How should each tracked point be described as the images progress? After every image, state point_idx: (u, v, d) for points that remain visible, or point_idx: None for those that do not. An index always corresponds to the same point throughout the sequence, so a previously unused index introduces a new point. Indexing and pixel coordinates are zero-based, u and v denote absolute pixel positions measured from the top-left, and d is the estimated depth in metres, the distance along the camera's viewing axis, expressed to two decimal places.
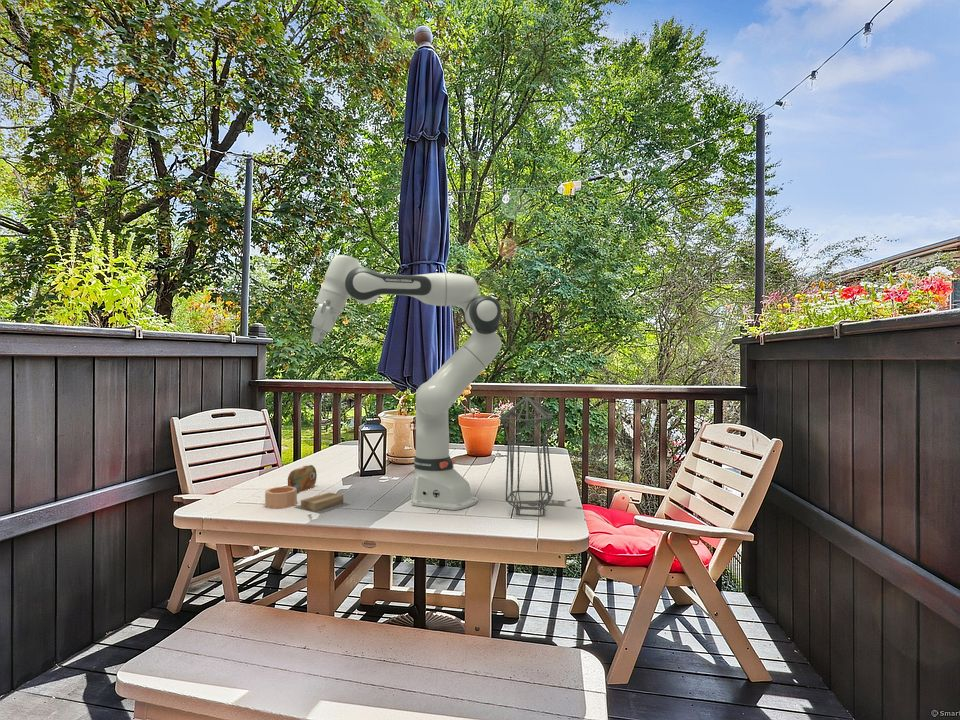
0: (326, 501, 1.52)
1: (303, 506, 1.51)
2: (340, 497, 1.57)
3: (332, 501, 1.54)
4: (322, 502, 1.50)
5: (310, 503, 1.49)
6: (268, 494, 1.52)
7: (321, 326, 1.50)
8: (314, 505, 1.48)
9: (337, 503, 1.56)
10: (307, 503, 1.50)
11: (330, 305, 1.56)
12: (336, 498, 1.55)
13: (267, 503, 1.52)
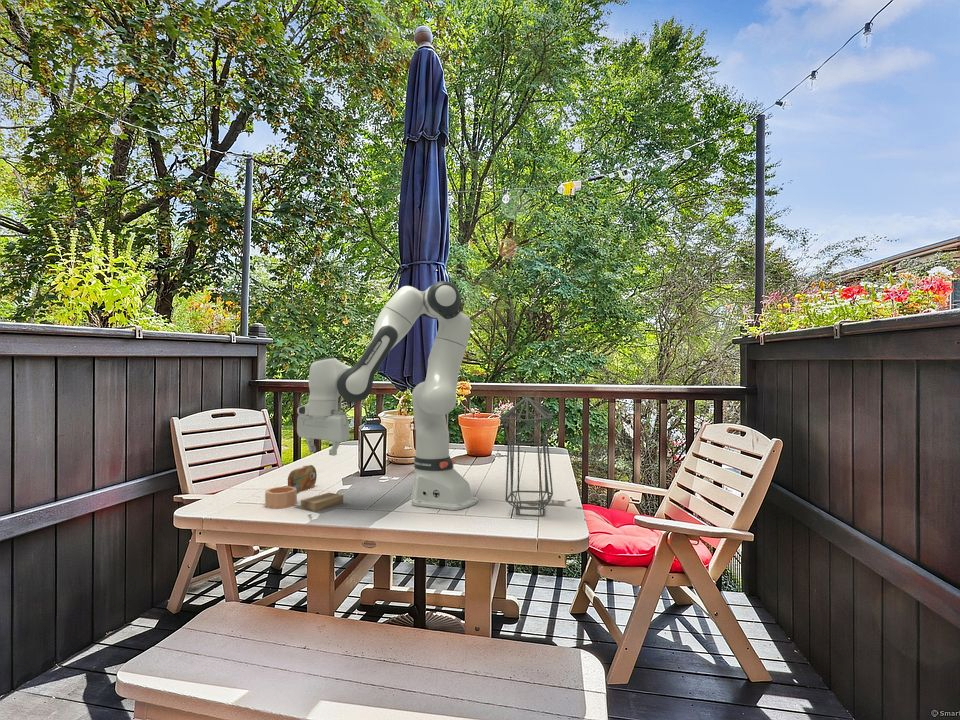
0: (326, 501, 1.52)
1: (303, 506, 1.51)
2: (340, 497, 1.57)
3: (332, 501, 1.54)
4: (322, 502, 1.50)
5: (310, 503, 1.49)
6: (268, 494, 1.52)
7: (348, 438, 1.51)
8: (314, 505, 1.48)
9: (337, 503, 1.56)
10: (307, 503, 1.50)
11: None
12: (336, 498, 1.55)
13: (267, 503, 1.52)
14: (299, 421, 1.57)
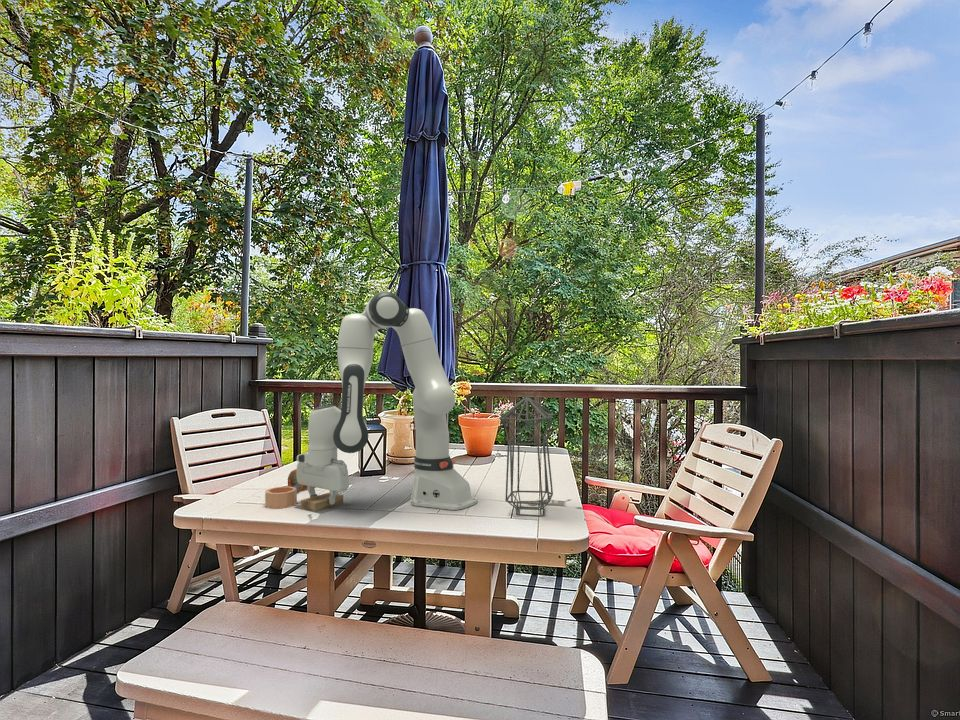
0: (326, 501, 1.52)
1: (303, 506, 1.51)
2: (340, 497, 1.57)
3: None
4: (322, 502, 1.50)
5: (310, 503, 1.49)
6: (268, 494, 1.52)
7: (348, 487, 1.51)
8: (314, 505, 1.48)
9: (337, 503, 1.56)
10: (307, 503, 1.50)
11: None
12: (336, 498, 1.55)
13: (267, 503, 1.52)
14: (299, 469, 1.57)
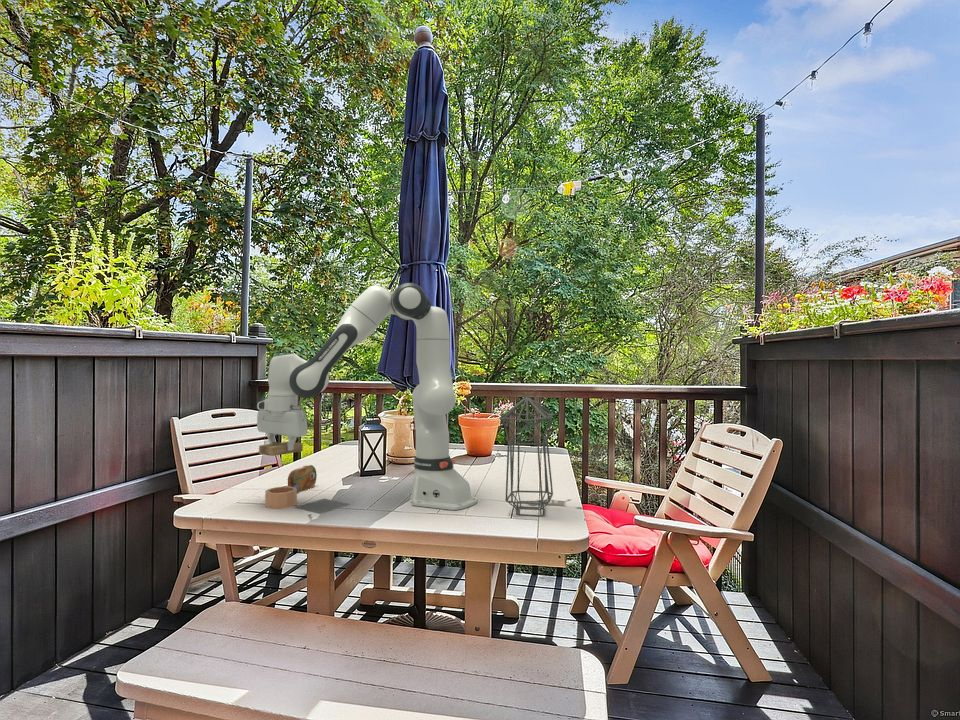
0: (284, 447, 1.53)
1: (261, 451, 1.52)
2: (299, 445, 1.58)
3: None
4: (280, 447, 1.52)
5: (268, 448, 1.50)
6: (268, 494, 1.52)
7: (306, 433, 1.52)
8: (271, 449, 1.50)
9: (296, 450, 1.57)
10: (265, 448, 1.51)
11: None
12: (295, 445, 1.56)
13: (267, 503, 1.52)
14: (259, 416, 1.58)
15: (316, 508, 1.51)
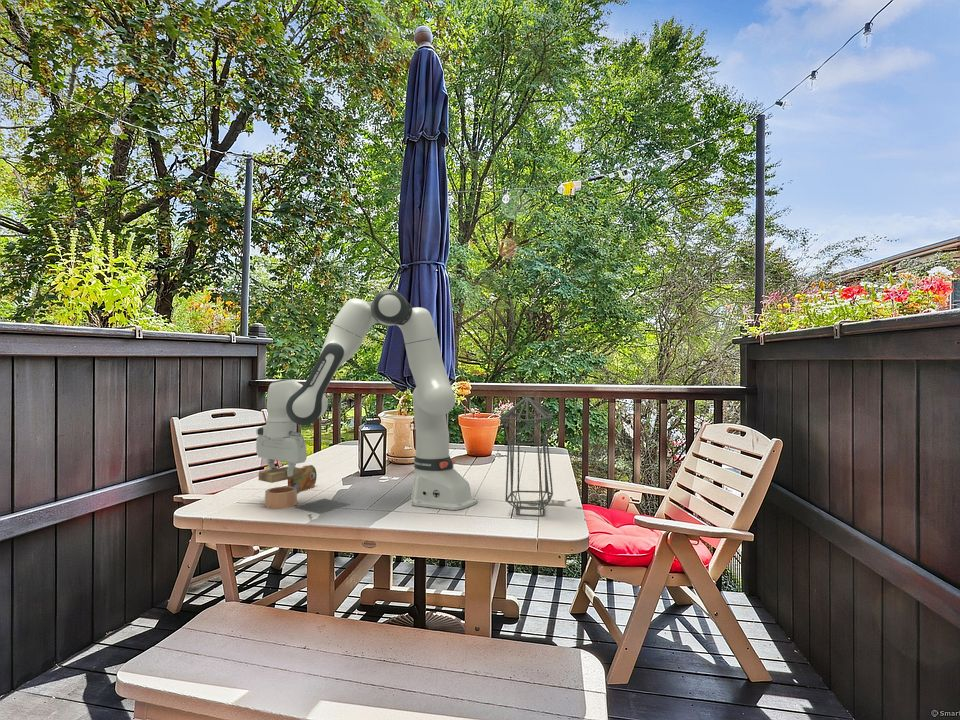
0: (284, 473, 1.53)
1: (261, 478, 1.52)
2: (299, 470, 1.58)
3: None
4: (279, 474, 1.52)
5: (267, 474, 1.50)
6: (268, 494, 1.52)
7: (305, 460, 1.52)
8: (271, 476, 1.50)
9: (296, 476, 1.57)
10: (264, 475, 1.51)
11: None
12: (294, 471, 1.56)
13: (267, 503, 1.52)
14: (258, 442, 1.58)
15: (316, 508, 1.51)
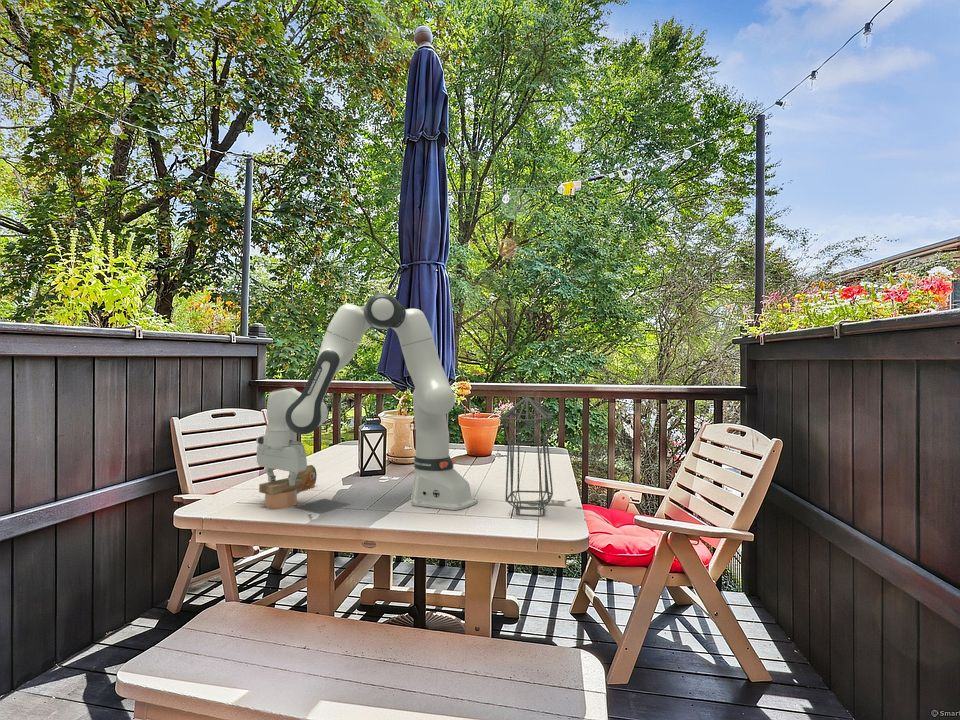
0: (284, 485, 1.53)
1: (261, 490, 1.52)
2: (299, 482, 1.58)
3: None
4: (280, 486, 1.52)
5: (268, 487, 1.51)
6: (268, 494, 1.52)
7: (305, 468, 1.52)
8: (271, 489, 1.50)
9: (296, 487, 1.57)
10: (265, 487, 1.51)
11: None
12: (295, 482, 1.56)
13: (267, 503, 1.52)
14: (258, 451, 1.58)
15: (316, 508, 1.51)
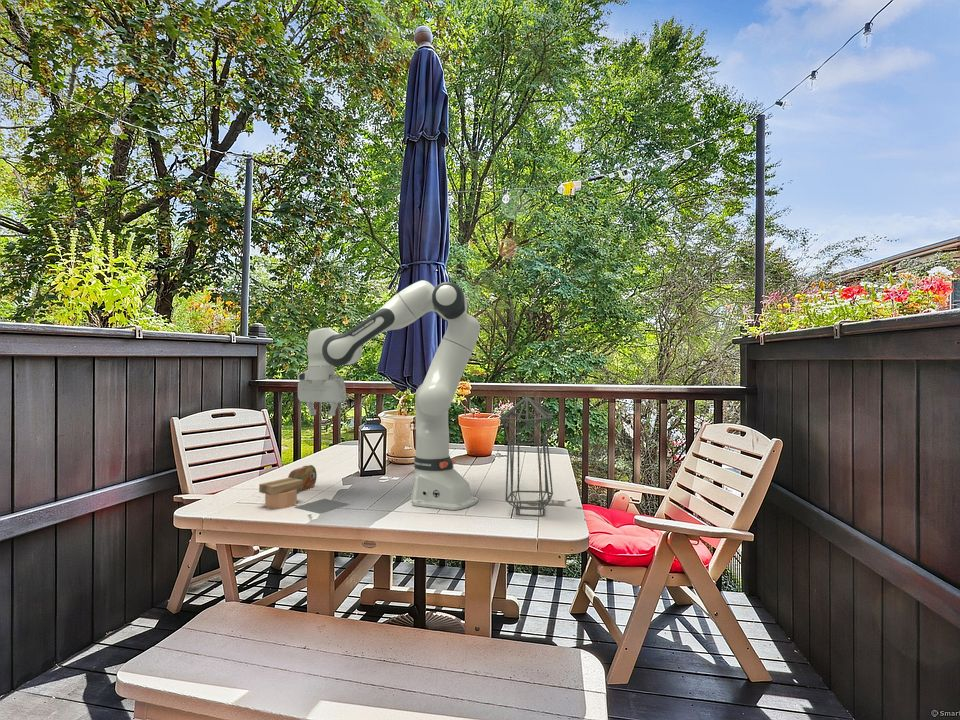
0: (284, 485, 1.53)
1: (261, 490, 1.52)
2: (299, 482, 1.58)
3: (291, 485, 1.55)
4: (280, 486, 1.52)
5: (268, 487, 1.51)
6: (268, 494, 1.52)
7: (345, 399, 1.66)
8: (271, 489, 1.50)
9: (296, 487, 1.57)
10: (265, 487, 1.51)
11: None
12: (295, 482, 1.56)
13: (267, 503, 1.52)
14: (299, 387, 1.72)
15: (316, 508, 1.51)
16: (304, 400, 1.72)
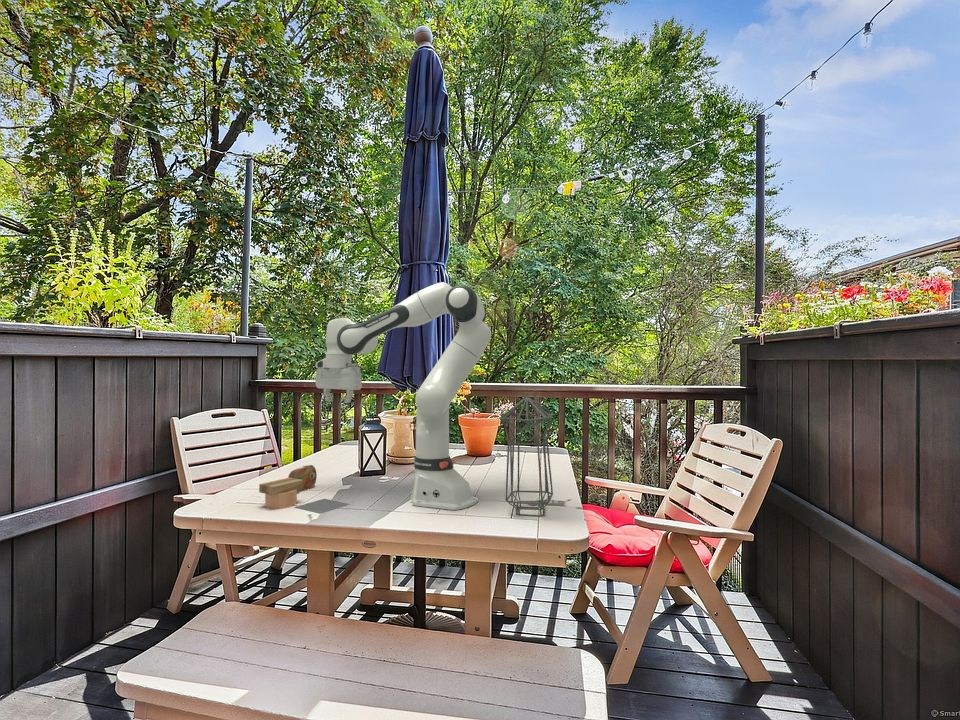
0: (284, 485, 1.53)
1: (261, 490, 1.52)
2: (299, 482, 1.58)
3: (291, 485, 1.55)
4: (280, 486, 1.52)
5: (268, 487, 1.51)
6: (268, 494, 1.52)
7: None
8: (271, 489, 1.50)
9: (296, 487, 1.57)
10: (265, 487, 1.51)
11: None
12: (295, 482, 1.56)
13: (267, 503, 1.52)
14: (317, 374, 1.80)
15: (316, 508, 1.51)
16: (321, 387, 1.79)
